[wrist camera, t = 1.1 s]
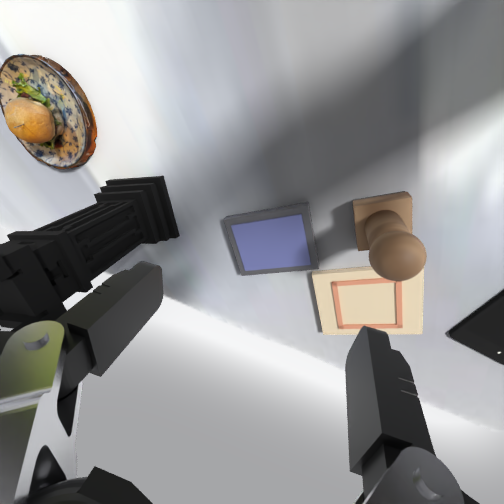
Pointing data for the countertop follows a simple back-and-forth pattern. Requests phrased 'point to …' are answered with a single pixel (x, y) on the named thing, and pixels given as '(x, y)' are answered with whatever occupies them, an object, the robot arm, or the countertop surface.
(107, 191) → the chess piece
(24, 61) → the burger
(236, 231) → the ink pad
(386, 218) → the stamp
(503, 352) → the cell phone
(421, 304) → the board
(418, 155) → the countertop surface
